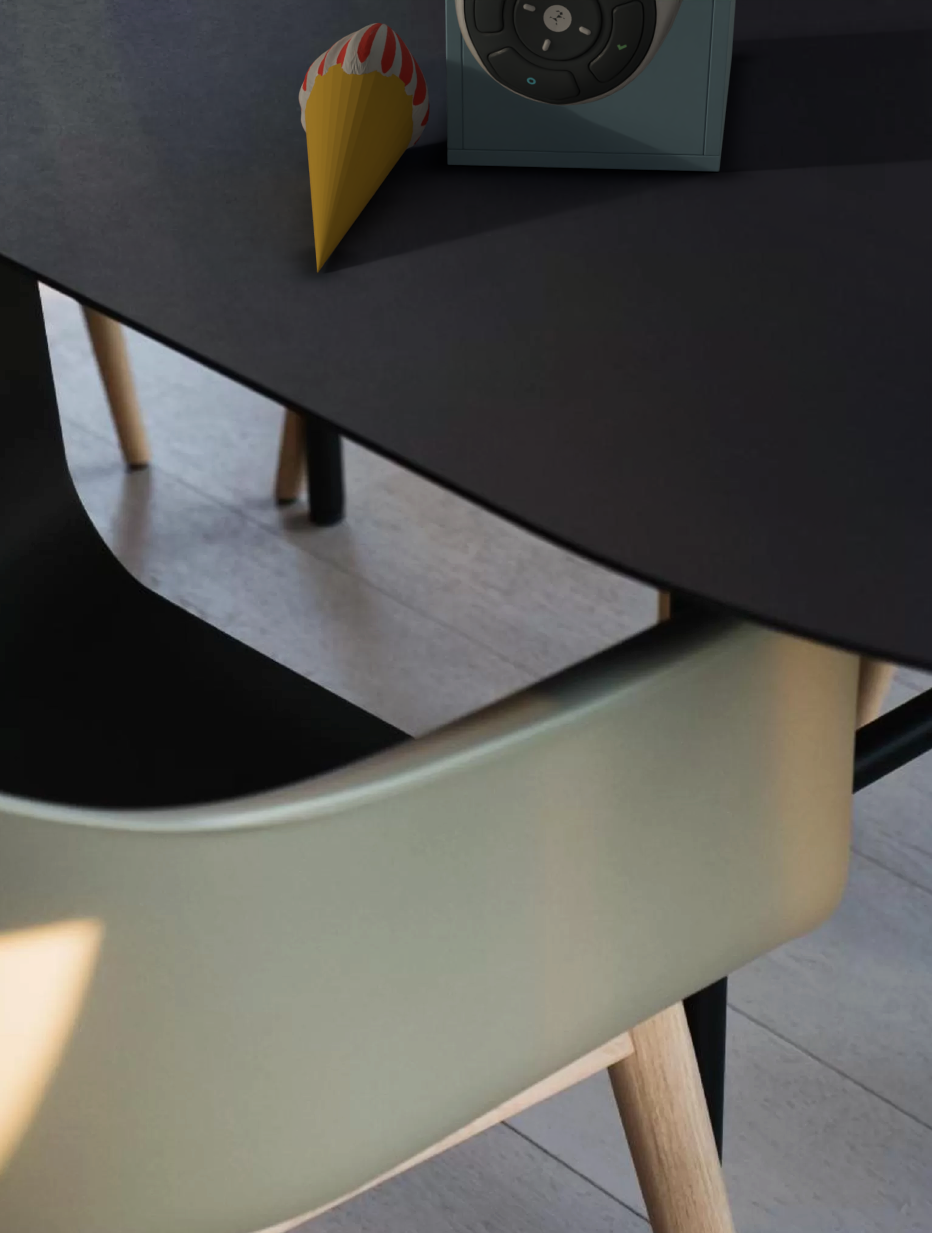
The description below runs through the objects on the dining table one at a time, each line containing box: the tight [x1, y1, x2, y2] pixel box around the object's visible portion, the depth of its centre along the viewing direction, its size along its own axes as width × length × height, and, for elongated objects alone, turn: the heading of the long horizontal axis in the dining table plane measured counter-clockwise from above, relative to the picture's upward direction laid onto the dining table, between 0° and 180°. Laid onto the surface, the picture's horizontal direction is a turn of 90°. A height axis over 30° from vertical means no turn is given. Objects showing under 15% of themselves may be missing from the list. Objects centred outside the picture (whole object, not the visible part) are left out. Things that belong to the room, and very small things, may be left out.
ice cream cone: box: [298, 22, 430, 274], centre depth 108 cm, size 6×6×20 cm
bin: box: [445, 0, 737, 173], centre depth 113 cm, size 14×16×9 cm
